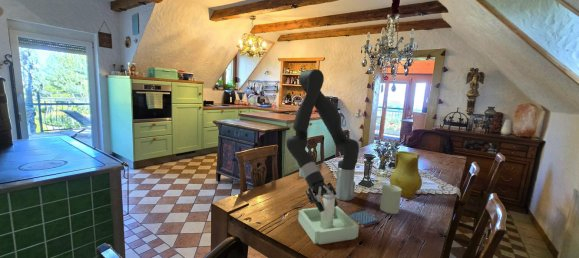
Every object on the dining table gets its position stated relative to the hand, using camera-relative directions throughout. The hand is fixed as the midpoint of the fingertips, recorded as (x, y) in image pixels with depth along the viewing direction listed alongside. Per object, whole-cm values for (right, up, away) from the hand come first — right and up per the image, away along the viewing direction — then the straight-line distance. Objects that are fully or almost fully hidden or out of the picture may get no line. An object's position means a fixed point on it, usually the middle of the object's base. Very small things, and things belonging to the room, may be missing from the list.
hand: (329, 208), depth 107 cm
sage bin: (-1, -9, +2) cm, 9 cm away
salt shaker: (-1, -8, +2) cm, 8 cm away
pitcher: (+52, -5, +46) cm, 69 cm away
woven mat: (+17, -9, +11) cm, 22 cm away
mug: (-4, +1, +68) cm, 68 cm away
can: (+34, -8, +23) cm, 42 cm away
